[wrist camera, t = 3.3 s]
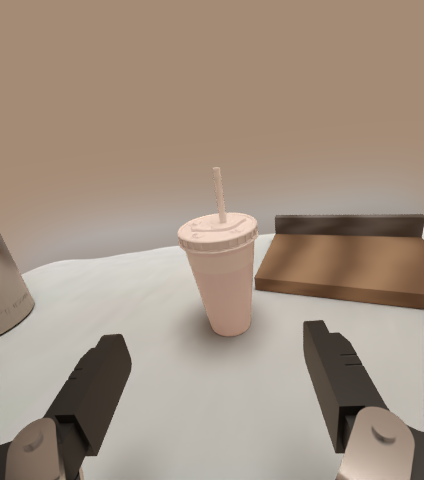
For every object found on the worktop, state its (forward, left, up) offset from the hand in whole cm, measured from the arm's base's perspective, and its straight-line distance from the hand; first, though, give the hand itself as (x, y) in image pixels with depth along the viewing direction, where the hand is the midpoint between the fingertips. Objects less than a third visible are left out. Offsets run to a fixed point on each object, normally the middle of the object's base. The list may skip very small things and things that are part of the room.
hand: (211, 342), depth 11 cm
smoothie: (0, +10, -8) cm, 13 cm away
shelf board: (+13, +18, -8) cm, 24 cm away
